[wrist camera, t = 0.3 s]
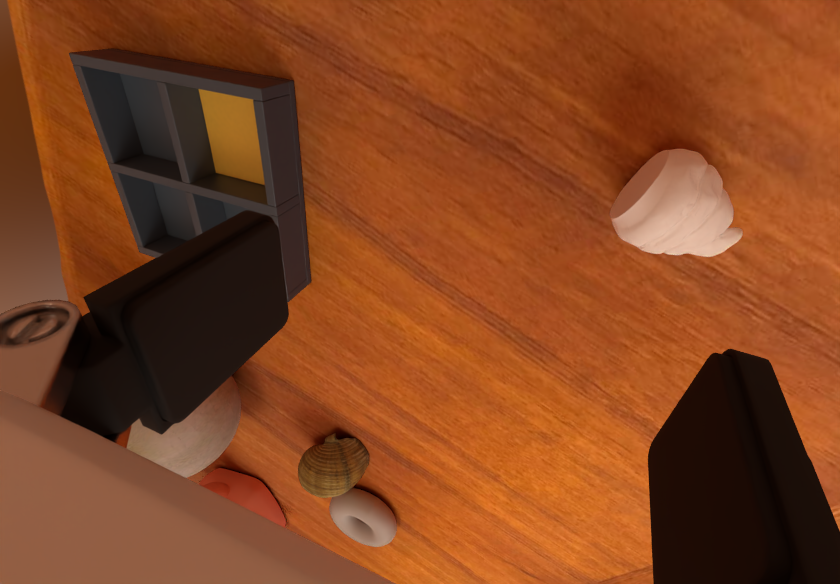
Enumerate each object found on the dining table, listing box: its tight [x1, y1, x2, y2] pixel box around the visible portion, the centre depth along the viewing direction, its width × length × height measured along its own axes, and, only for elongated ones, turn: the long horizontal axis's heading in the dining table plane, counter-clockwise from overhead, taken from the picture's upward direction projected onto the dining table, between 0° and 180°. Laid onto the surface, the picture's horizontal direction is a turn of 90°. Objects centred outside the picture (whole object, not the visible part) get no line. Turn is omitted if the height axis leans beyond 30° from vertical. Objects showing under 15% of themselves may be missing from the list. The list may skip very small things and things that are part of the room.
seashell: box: [298, 433, 369, 498], centre depth 53 cm, size 10×7×8 cm
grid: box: [69, 49, 311, 302], centre depth 36 cm, size 17×17×4 cm
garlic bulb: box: [610, 149, 743, 257], centre depth 23 cm, size 6×6×6 cm
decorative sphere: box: [126, 375, 241, 478], centre depth 50 cm, size 15×15×15 cm
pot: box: [199, 468, 286, 528], centre depth 69 cm, size 18×17×12 cm
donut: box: [329, 488, 397, 547], centre depth 59 cm, size 10×4×10 cm
